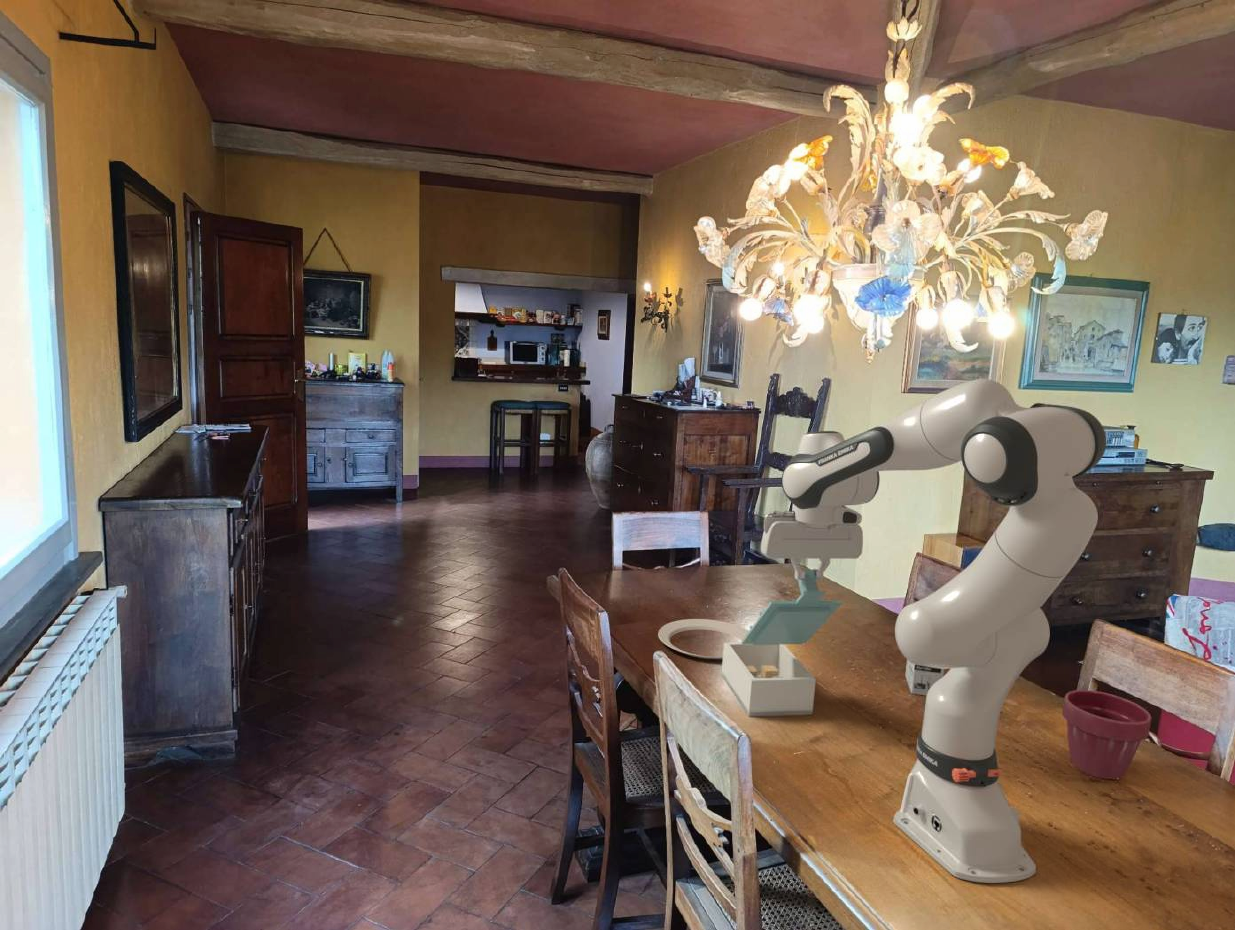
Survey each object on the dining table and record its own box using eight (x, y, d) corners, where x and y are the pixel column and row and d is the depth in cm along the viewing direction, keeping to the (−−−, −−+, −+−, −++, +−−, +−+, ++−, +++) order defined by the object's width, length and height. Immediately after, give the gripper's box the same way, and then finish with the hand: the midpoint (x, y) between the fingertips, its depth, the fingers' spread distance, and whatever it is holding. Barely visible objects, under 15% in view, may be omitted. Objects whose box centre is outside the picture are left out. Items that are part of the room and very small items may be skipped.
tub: (812, 714, 172) (815, 679, 170) (748, 716, 169) (751, 680, 168) (778, 674, 191) (781, 641, 190) (721, 675, 189) (723, 642, 187)
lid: (851, 598, 160) (843, 568, 164) (779, 599, 158) (773, 568, 161) (807, 647, 181) (800, 619, 184) (742, 648, 178) (737, 620, 182)
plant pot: (1113, 750, 163) (1123, 691, 161) (1157, 790, 149) (1169, 725, 147) (1041, 746, 163) (1050, 686, 161) (1079, 785, 150) (1089, 720, 147)
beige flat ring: (700, 619, 225) (701, 612, 225) (778, 647, 208) (778, 640, 207) (637, 640, 208) (637, 633, 207) (715, 674, 190) (716, 666, 189)
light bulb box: (941, 698, 183) (947, 653, 181) (910, 694, 184) (915, 649, 182) (933, 679, 193) (938, 636, 191) (903, 675, 194) (909, 632, 193)
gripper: (770, 514, 155) (764, 584, 158) (869, 515, 159) (862, 583, 161) (759, 507, 162) (753, 574, 164) (855, 508, 165) (848, 574, 167)
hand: (808, 579), depth 163 cm, fingers closed on lid, 2 cm apart
